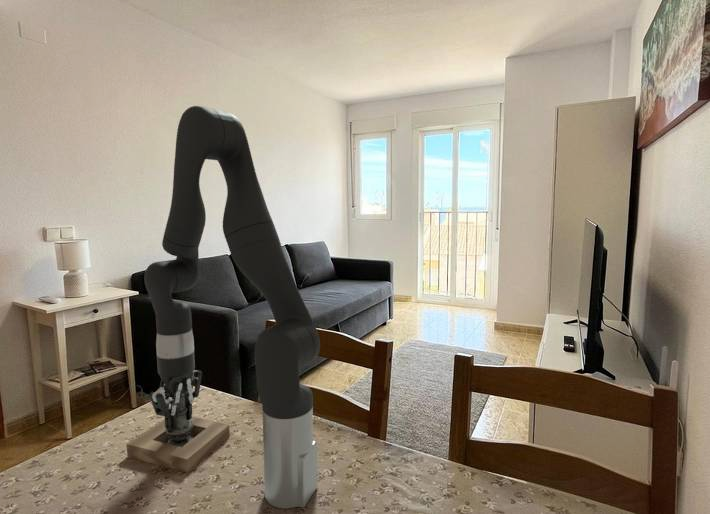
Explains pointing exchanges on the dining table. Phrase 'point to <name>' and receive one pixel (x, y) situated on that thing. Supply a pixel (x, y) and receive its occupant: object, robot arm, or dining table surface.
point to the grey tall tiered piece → (180, 426)
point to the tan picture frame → (179, 458)
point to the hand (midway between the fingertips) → (179, 423)
